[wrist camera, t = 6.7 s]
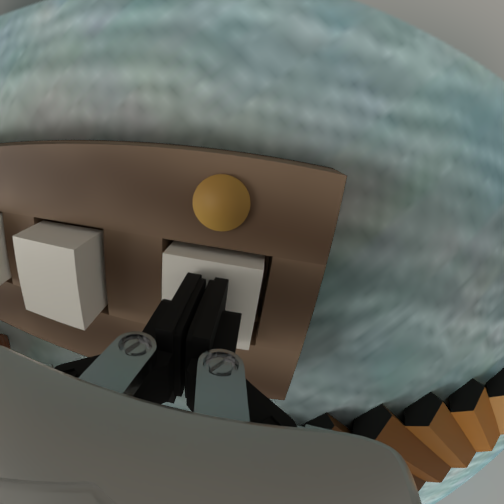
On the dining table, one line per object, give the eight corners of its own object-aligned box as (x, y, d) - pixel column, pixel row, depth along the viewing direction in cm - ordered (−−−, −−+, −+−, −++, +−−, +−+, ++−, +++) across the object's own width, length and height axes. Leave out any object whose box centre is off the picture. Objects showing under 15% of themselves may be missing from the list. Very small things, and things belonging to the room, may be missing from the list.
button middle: (107, 303, 14) (84, 330, 12) (51, 287, 14) (26, 309, 12) (103, 230, 13) (73, 249, 10) (43, 220, 13) (12, 235, 10)
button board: (283, 365, 18) (284, 402, 15) (-5, 289, 18) (-28, 307, 15) (331, 168, 13) (348, 176, 10) (-20, 145, 14) (-51, 151, 11)
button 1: (252, 319, 15) (248, 350, 13) (176, 305, 15) (162, 333, 13) (265, 247, 14) (263, 270, 11) (180, 233, 14) (162, 253, 11)
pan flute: (240, 426, 21) (374, 491, 27) (236, 459, 18) (377, 511, 24) (511, 232, 14) (536, 385, 20) (542, 250, 11) (548, 403, 17)
